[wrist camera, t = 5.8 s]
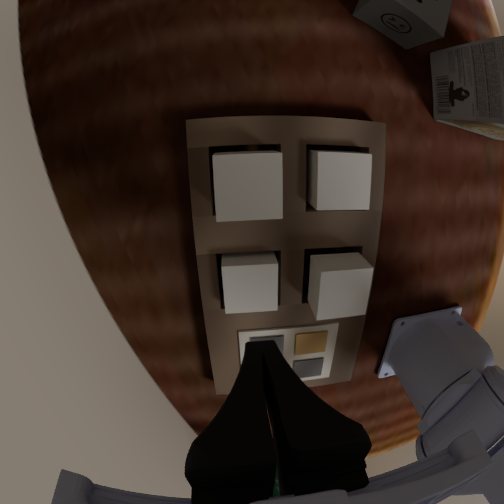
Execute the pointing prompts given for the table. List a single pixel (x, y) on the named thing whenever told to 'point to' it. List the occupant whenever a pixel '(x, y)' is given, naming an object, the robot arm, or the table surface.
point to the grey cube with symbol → (406, 19)
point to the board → (282, 244)
